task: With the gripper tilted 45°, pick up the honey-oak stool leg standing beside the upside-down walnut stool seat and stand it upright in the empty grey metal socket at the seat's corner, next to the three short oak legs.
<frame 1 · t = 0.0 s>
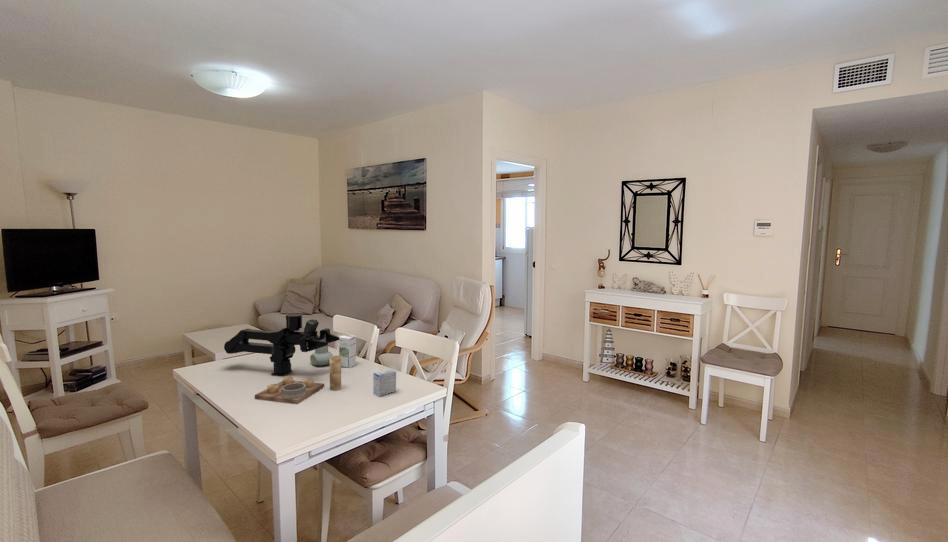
hand: (333, 341, 185), 17 cm above the table, tool horizontal, fingers open, 9 cm apart
medicine box: (384, 393, 171), on the table
stool seat: (290, 392, 169), on the table
stool leg: (335, 388, 175), on the table
air freshener: (321, 364, 206), on the table
syrup box: (347, 366, 204), on the table
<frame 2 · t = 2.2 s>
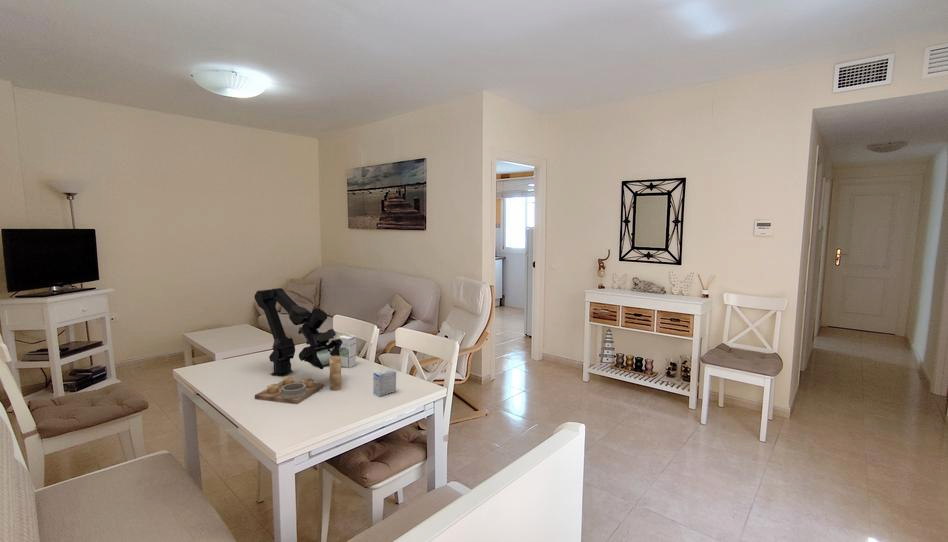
hand: (331, 365, 175), 9 cm above the table, tool tilted 45°, fingers open, 9 cm apart
nothing on the table moved.
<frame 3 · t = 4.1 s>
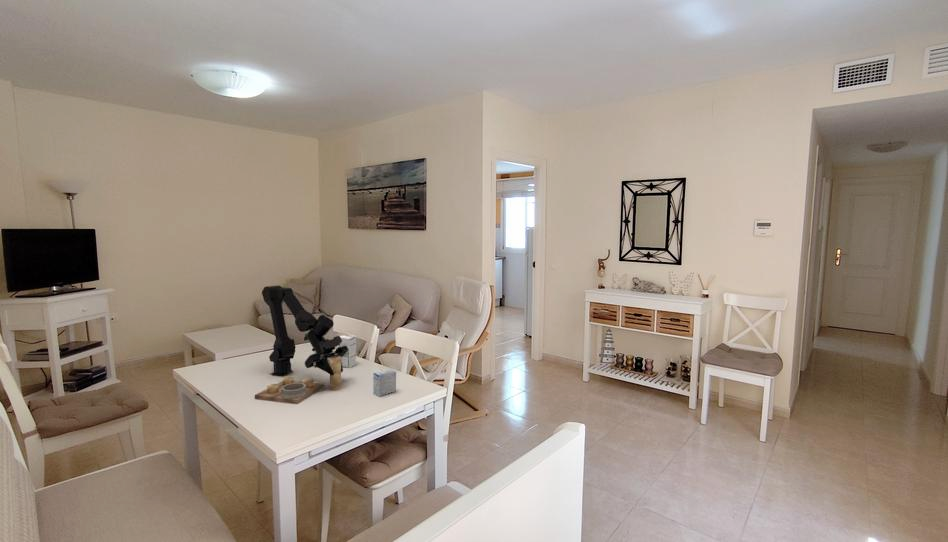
hand: (337, 373, 174), 7 cm above the table, tool tilted 45°, fingers closed on stool leg, 4 cm apart
stool leg: (335, 388, 175), on the table, touching gripper
everything else where it was.
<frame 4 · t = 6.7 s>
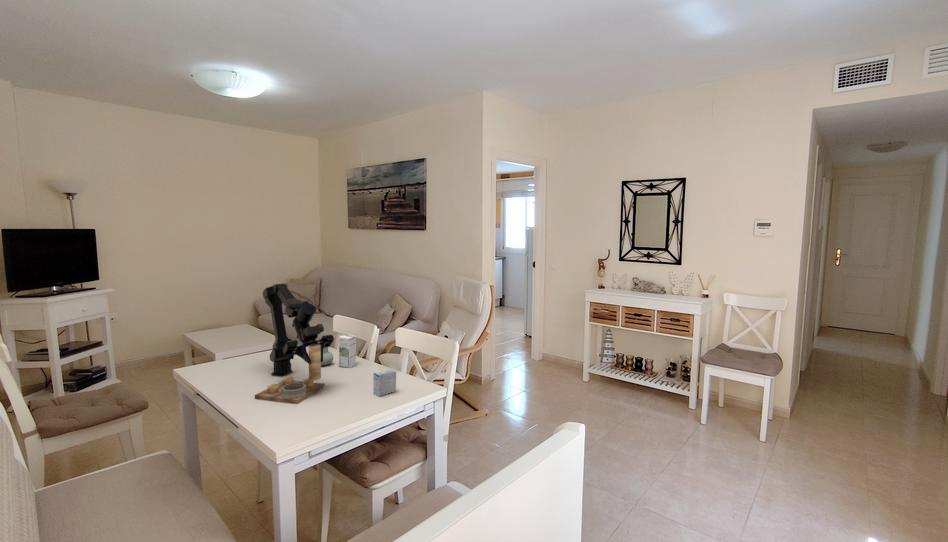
hand: (316, 362, 166), 13 cm above the table, tool tilted 45°, fingers closed on stool leg, 4 cm apart
stool leg: (314, 378, 168), point 6 cm above the table, touching gripper
everything else where it was.
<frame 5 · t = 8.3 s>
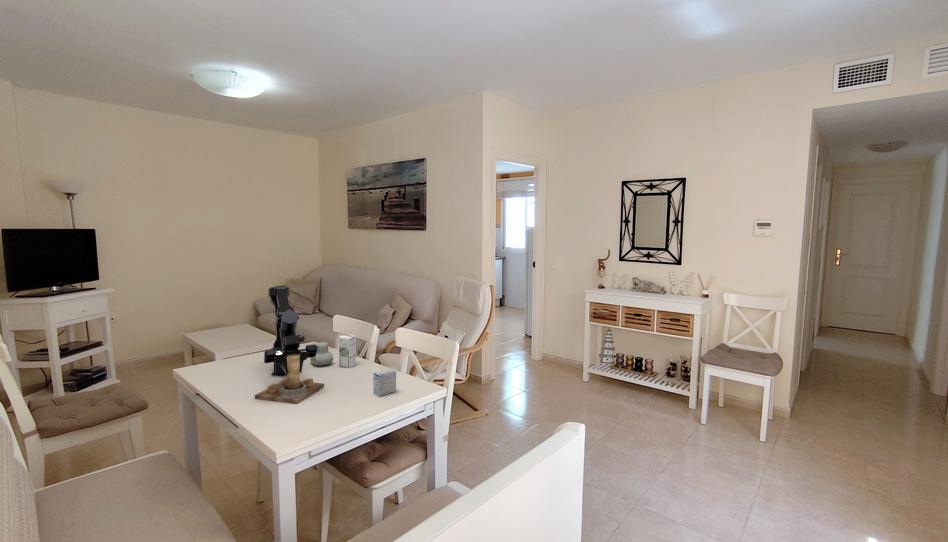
hand: (294, 373, 162), 10 cm above the table, tool tilted 45°, fingers closed on stool leg, 4 cm apart
stool leg: (293, 388, 164), point 4 cm above the table, touching gripper
everything else where it was.
when the fingers open (9 cm above the table, at t = 9.3 s): stool leg stays where it is, resting on stool seat.
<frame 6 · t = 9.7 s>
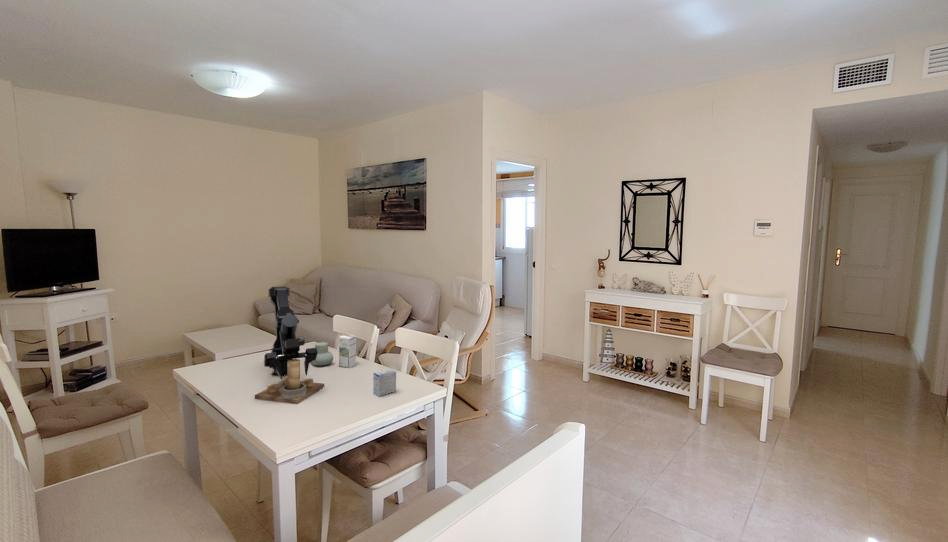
hand: (294, 376, 162), 9 cm above the table, tool tilted 45°, fingers open, 8 cm apart
stool leg: (293, 394, 164), point 2 cm above the table, touching stool seat
everything else where it was.
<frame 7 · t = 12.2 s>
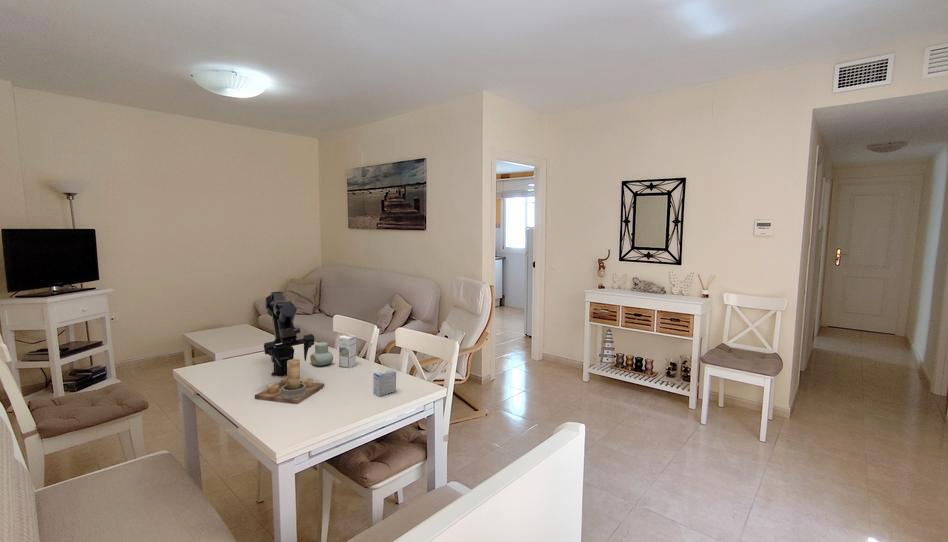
hand: (293, 363, 171), 11 cm above the table, tool tilted 40°, fingers open, 9 cm apart
nothing on the table moved.
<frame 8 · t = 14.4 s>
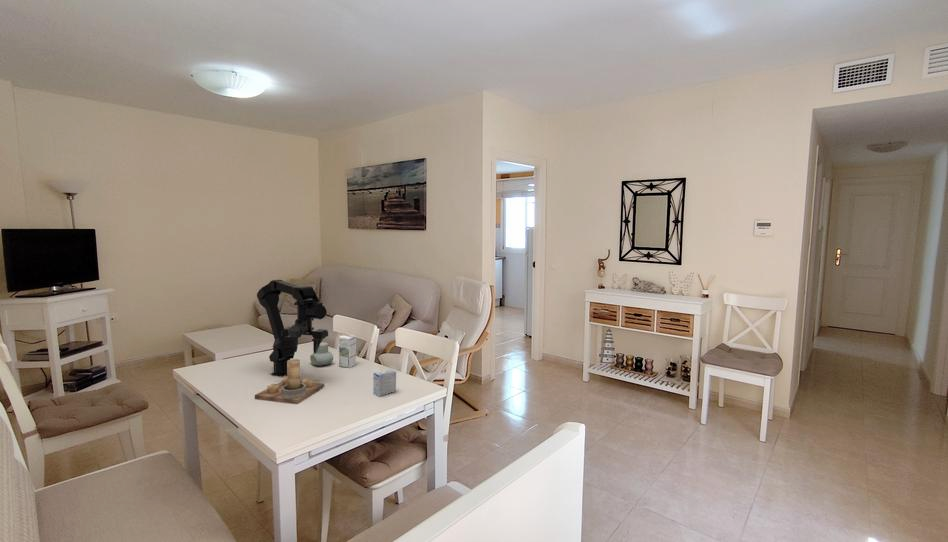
hand: (305, 352, 182), 12 cm above the table, tool pointing down, fingers open, 9 cm apart
nothing on the table moved.
at the end: stool leg 0.0 cm from the target spot on the stool seat, point 1.5 cm above the stool seat's base; stool leg tilted 0°; the gripper is holding nothing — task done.
